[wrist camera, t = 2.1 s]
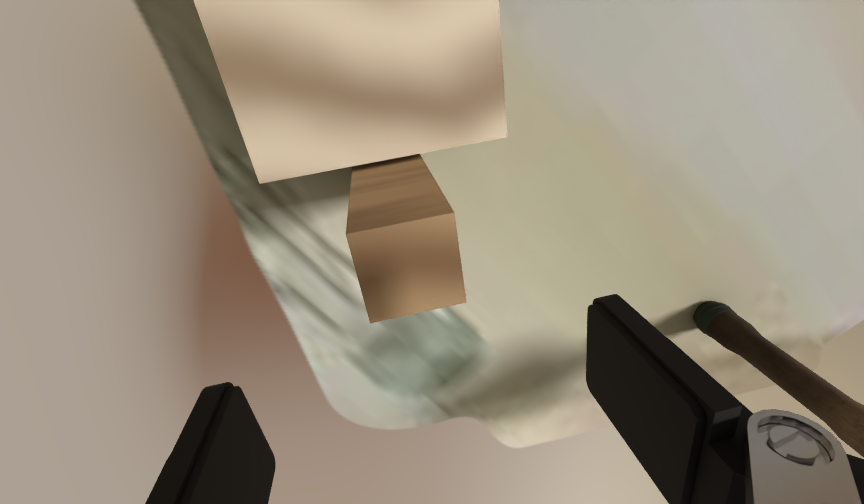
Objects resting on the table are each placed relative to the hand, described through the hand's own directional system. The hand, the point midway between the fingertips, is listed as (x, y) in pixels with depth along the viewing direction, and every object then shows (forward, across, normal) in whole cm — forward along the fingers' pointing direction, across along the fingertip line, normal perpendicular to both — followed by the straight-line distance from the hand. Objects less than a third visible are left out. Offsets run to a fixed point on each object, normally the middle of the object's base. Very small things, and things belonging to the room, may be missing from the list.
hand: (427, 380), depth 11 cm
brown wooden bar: (+24, 0, -1) cm, 24 cm away
